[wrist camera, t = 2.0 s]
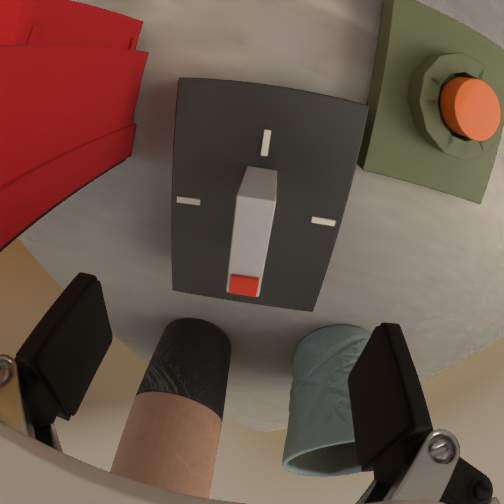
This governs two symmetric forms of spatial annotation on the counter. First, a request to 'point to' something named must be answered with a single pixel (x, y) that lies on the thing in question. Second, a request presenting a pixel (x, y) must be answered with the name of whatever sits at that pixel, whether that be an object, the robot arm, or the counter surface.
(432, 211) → the counter surface
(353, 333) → the teal embossed cup
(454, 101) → the button
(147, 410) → the travel mug
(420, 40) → the button block
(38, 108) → the red coffee machine
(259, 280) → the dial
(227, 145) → the plate
